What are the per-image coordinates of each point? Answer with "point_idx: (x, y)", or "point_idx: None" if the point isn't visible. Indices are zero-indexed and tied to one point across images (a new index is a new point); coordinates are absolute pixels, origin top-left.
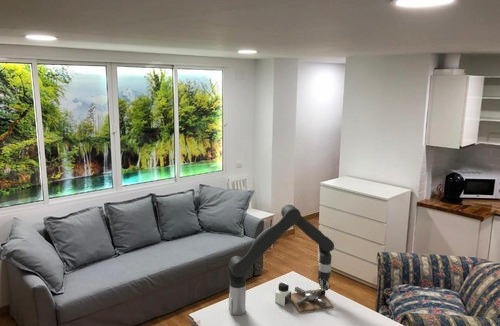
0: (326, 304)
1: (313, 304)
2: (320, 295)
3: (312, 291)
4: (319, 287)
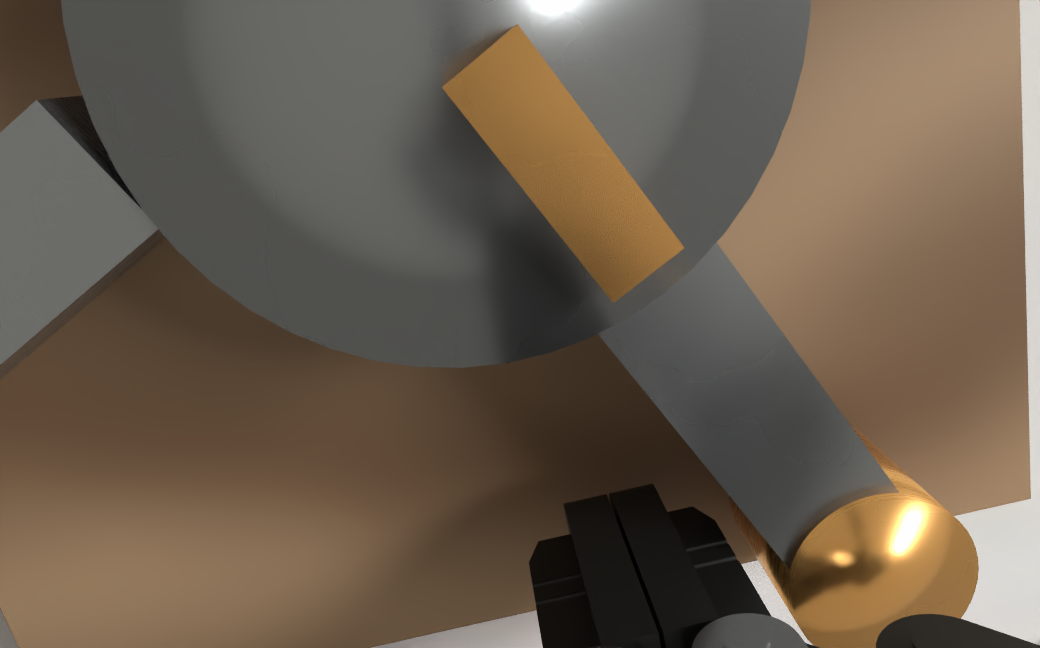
0: (80, 525)
1: (12, 26)
2: (652, 437)
3: (685, 130)
4: (967, 537)
